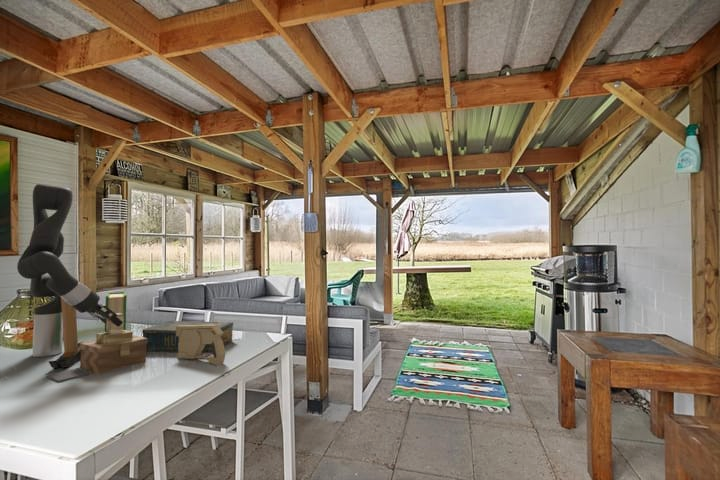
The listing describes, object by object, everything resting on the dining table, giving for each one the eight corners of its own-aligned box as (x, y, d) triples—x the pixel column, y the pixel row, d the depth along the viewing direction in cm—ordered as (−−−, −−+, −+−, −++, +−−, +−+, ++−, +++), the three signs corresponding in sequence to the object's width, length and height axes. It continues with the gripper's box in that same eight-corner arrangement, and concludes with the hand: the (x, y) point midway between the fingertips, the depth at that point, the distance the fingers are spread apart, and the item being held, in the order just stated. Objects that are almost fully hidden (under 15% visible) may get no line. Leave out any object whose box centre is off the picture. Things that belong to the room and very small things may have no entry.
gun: (227, 363, 131) (225, 324, 132) (220, 366, 128) (218, 325, 129) (183, 361, 141) (182, 324, 142) (176, 363, 138) (174, 326, 139)
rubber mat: (45, 377, 117) (46, 375, 117) (77, 369, 125) (77, 367, 125) (58, 382, 112) (58, 380, 112) (90, 374, 120) (90, 372, 120)
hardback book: (124, 350, 150) (126, 295, 151) (103, 352, 146) (105, 296, 147) (124, 341, 165) (126, 291, 166) (105, 343, 160) (107, 292, 161)
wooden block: (106, 341, 130) (106, 314, 130) (117, 338, 133) (118, 313, 134) (111, 342, 128) (112, 315, 128) (123, 340, 131) (123, 313, 132)
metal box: (170, 340, 168) (170, 320, 168) (234, 341, 166) (234, 320, 166) (139, 352, 147) (140, 329, 147) (212, 354, 145) (213, 330, 145)
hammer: (66, 375, 125) (61, 296, 121) (49, 376, 123) (44, 296, 119) (90, 350, 144) (86, 281, 140) (75, 351, 142) (72, 281, 138)
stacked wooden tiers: (78, 367, 127) (80, 334, 127) (127, 355, 141) (128, 326, 142) (98, 374, 119) (99, 339, 120) (147, 361, 134) (148, 330, 134)
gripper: (98, 289, 120) (132, 317, 130) (80, 287, 127) (113, 314, 137) (79, 306, 116) (116, 334, 125) (61, 303, 123) (97, 329, 132)
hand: (114, 323), depth 131 cm, fingers open, 8 cm apart
